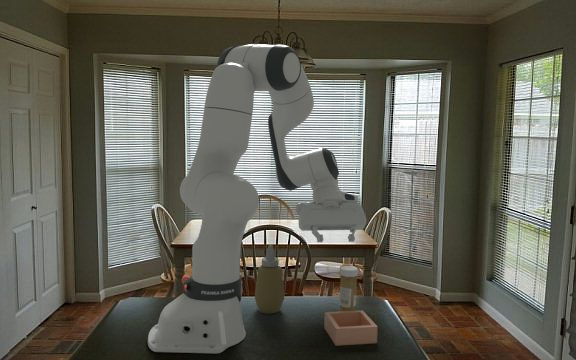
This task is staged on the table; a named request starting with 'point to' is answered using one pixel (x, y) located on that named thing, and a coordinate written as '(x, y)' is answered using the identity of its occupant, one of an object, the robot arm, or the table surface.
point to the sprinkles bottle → (348, 288)
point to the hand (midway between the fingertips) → (336, 241)
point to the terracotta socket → (350, 327)
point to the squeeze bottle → (269, 284)
